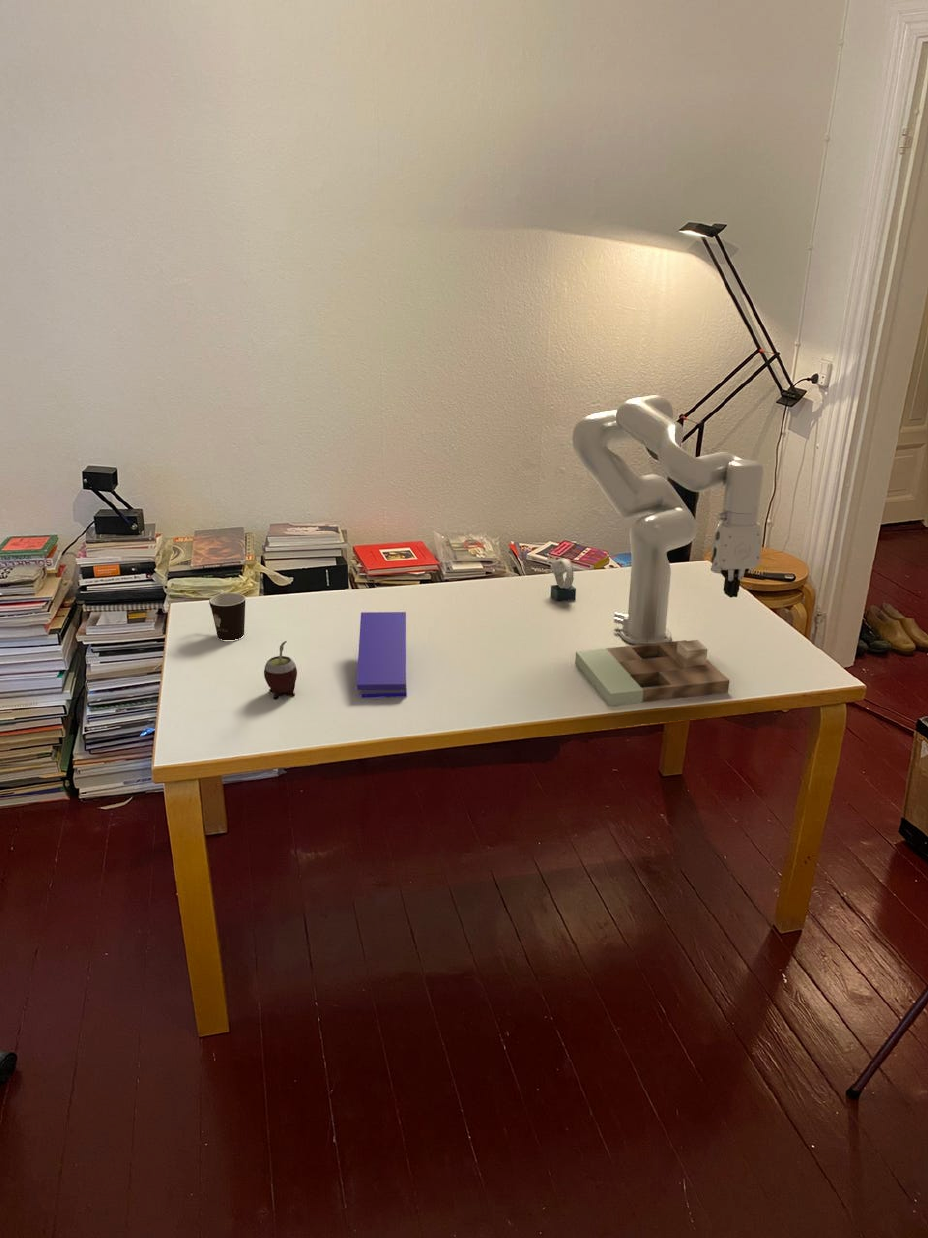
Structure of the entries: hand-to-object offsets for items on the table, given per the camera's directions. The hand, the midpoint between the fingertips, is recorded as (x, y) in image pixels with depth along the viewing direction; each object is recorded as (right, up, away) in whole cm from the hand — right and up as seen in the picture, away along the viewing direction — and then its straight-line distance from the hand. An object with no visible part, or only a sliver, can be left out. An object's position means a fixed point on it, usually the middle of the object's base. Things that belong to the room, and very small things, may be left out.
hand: (730, 595), depth 225 cm
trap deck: (-14, -18, +4) cm, 23 cm away
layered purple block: (-79, -18, +6) cm, 81 cm away
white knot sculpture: (-33, 0, +48) cm, 58 cm away
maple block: (-8, -15, +4) cm, 18 cm away
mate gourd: (-100, -22, -5) cm, 103 cm away
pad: (-28, -20, +1) cm, 34 cm away
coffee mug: (-119, -9, +24) cm, 121 cm away
